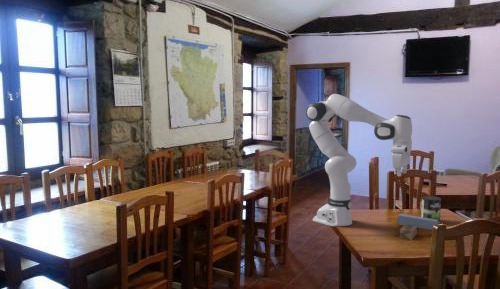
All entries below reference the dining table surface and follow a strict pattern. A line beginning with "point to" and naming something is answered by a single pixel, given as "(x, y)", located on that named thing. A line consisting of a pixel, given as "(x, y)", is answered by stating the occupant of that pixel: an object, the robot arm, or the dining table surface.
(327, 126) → the robot arm
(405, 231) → the walnut block
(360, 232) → the dining table surface
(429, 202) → the coffee can
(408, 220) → the board
